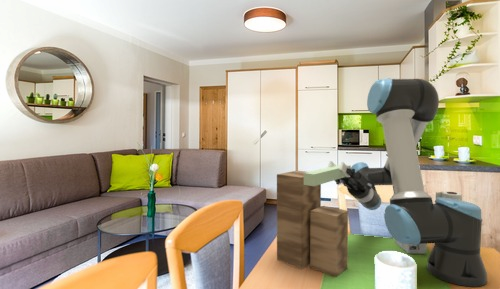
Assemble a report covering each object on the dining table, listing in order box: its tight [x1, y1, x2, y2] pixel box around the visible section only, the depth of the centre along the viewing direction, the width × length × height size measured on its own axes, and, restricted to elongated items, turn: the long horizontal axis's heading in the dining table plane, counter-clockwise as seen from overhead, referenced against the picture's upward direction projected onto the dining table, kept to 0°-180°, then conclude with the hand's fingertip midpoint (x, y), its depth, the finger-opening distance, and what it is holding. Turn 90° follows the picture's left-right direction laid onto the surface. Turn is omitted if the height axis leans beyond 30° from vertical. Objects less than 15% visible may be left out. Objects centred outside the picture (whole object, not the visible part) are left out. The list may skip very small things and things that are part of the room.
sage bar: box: [304, 164, 352, 186], centre depth 94 cm, size 24×4×4 cm, turn 136°
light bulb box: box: [394, 239, 427, 255], centre depth 110 cm, size 11×7×11 cm, turn 179°
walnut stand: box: [276, 170, 349, 278], centre depth 97 cm, size 12×20×30 cm, turn 46°
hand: (335, 165), depth 97 cm, fingers closed on sage bar, 3 cm apart
